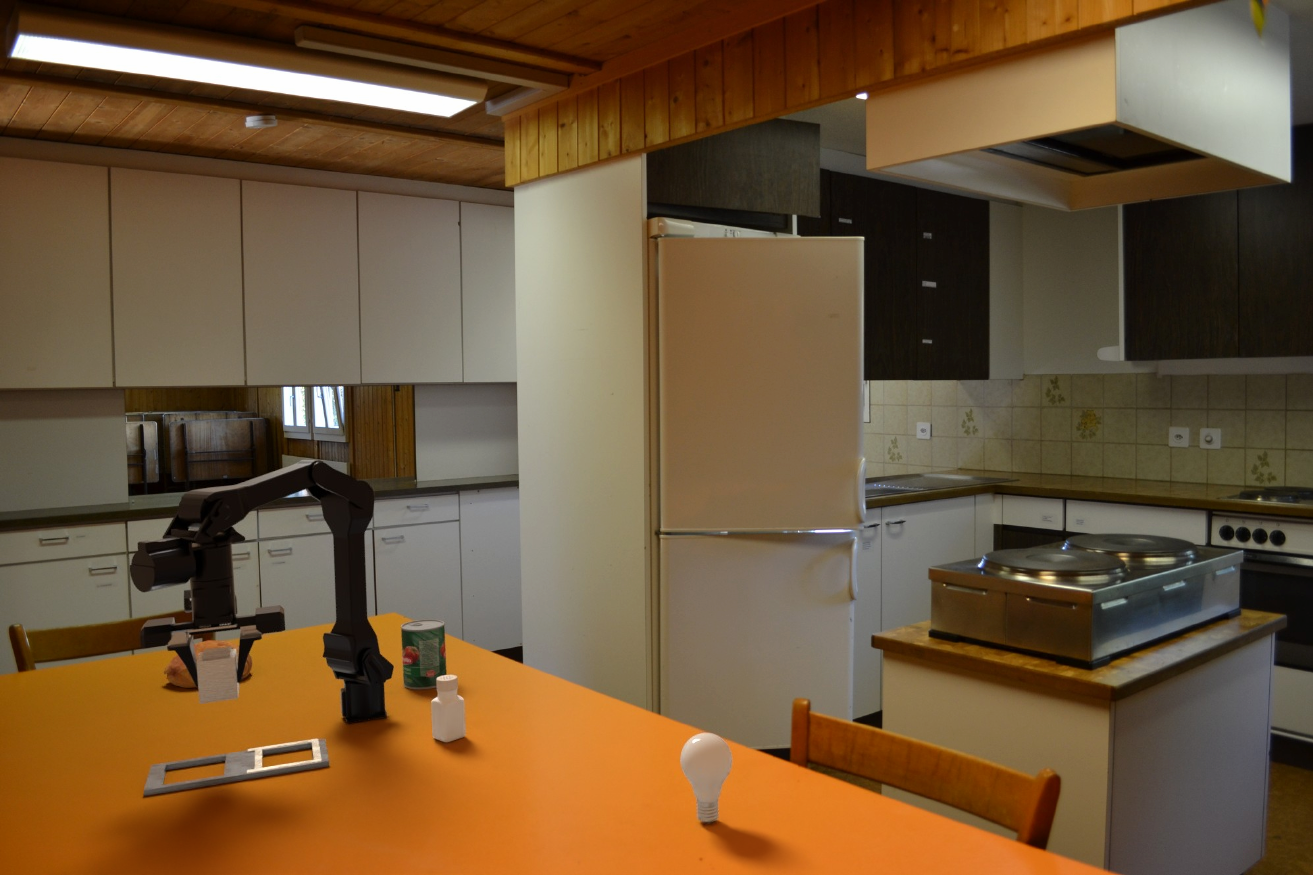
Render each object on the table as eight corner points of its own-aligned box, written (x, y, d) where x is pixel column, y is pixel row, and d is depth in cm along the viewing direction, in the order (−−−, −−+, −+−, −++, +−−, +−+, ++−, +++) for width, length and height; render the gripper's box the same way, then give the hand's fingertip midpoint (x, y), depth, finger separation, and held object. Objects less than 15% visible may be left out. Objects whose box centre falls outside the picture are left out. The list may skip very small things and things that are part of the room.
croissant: (223, 674, 200) (219, 635, 200) (266, 675, 191) (262, 634, 191) (151, 691, 188) (147, 649, 189) (193, 693, 179) (189, 649, 179)
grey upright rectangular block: (239, 688, 145) (236, 644, 145) (237, 698, 140) (234, 652, 140) (201, 693, 143) (198, 648, 143) (199, 703, 139) (196, 657, 138)
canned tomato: (456, 680, 184) (453, 621, 183) (425, 691, 177) (422, 631, 176) (425, 674, 188) (423, 617, 187) (394, 685, 181) (391, 626, 181)
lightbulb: (679, 812, 124) (677, 726, 124) (729, 809, 125) (727, 723, 124) (685, 835, 118) (682, 745, 117) (737, 831, 118) (735, 741, 118)
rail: (325, 743, 152) (324, 737, 152) (329, 766, 143) (328, 759, 143) (151, 770, 143) (151, 763, 143) (143, 796, 134) (143, 788, 134)
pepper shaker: (467, 737, 153) (465, 676, 153) (446, 744, 150) (443, 683, 150) (452, 731, 156) (450, 672, 156) (430, 738, 153) (428, 678, 153)
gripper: (281, 561, 152) (287, 660, 153) (145, 574, 145) (153, 678, 146) (281, 574, 141) (288, 681, 142) (135, 589, 135) (144, 701, 136)
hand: (219, 684), depth 142 cm, fingers closed on grey upright rectangular block, 5 cm apart
